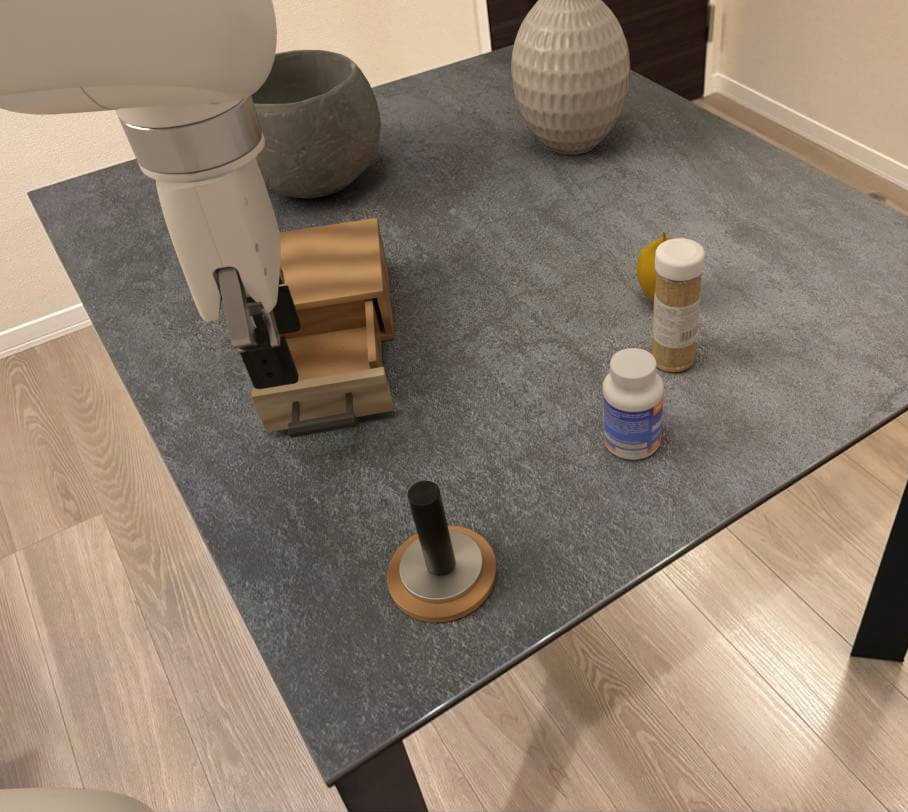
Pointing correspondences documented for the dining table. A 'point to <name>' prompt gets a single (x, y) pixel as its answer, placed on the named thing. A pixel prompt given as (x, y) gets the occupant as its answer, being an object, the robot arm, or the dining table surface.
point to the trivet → (448, 609)
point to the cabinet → (338, 267)
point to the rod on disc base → (437, 551)
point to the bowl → (315, 123)
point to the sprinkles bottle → (677, 303)
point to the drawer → (329, 372)
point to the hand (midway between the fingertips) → (278, 355)
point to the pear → (649, 267)
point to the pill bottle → (633, 405)
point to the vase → (570, 73)
